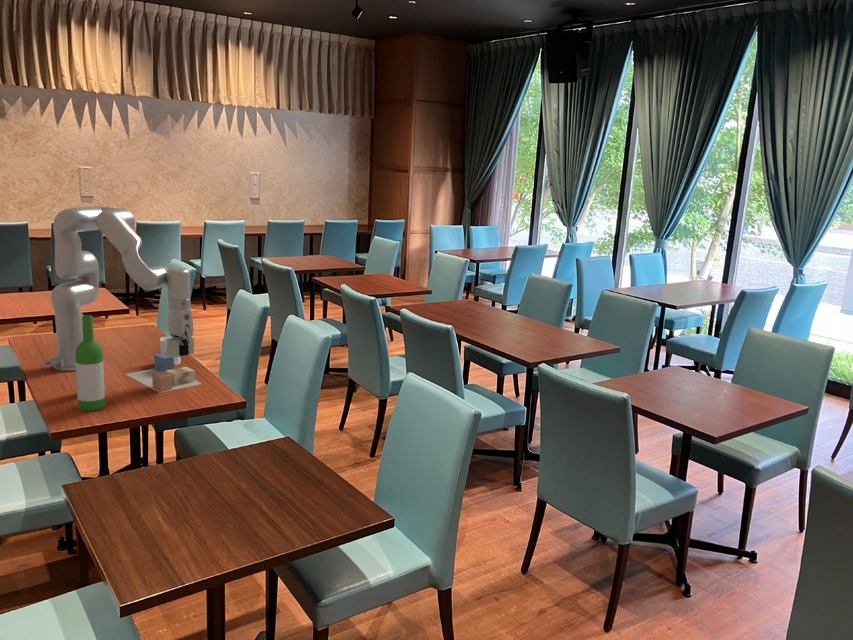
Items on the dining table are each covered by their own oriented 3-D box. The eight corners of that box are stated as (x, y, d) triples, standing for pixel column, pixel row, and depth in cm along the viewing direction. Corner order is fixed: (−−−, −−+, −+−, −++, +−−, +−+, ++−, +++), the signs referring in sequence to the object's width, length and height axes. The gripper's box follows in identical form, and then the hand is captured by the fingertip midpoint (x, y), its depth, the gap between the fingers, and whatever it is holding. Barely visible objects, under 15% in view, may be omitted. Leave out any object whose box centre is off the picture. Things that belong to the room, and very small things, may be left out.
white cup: (177, 367, 263) (177, 341, 261) (157, 365, 263) (156, 340, 261) (185, 361, 271) (184, 336, 268) (165, 360, 271) (164, 335, 268)
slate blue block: (173, 372, 256) (173, 357, 254) (163, 374, 253) (163, 358, 251) (164, 367, 260) (164, 352, 259) (154, 369, 257) (154, 354, 256)
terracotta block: (161, 391, 235) (160, 377, 234) (152, 386, 239) (152, 373, 238) (172, 389, 238) (171, 375, 237) (163, 384, 242) (163, 371, 241)
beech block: (174, 385, 242) (174, 374, 241) (166, 381, 246) (165, 370, 245) (195, 381, 248) (195, 370, 247) (186, 377, 251) (186, 366, 251)
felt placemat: (159, 393, 234) (159, 392, 234) (125, 374, 251) (125, 373, 250) (202, 384, 245) (202, 383, 245) (166, 366, 262) (166, 366, 262)
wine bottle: (91, 413, 212) (86, 319, 206) (72, 409, 215) (67, 316, 208) (110, 406, 220) (106, 315, 213) (92, 402, 222) (87, 311, 215)
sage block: (173, 357, 240) (172, 341, 239) (167, 355, 243) (166, 338, 241) (194, 353, 246) (193, 337, 245) (188, 351, 249) (187, 335, 247)
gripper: (201, 306, 238) (202, 357, 242) (177, 298, 248) (178, 347, 252) (181, 309, 232) (182, 361, 236) (157, 300, 243) (159, 350, 247)
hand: (180, 353), depth 244 cm, fingers closed on sage block, 4 cm apart
